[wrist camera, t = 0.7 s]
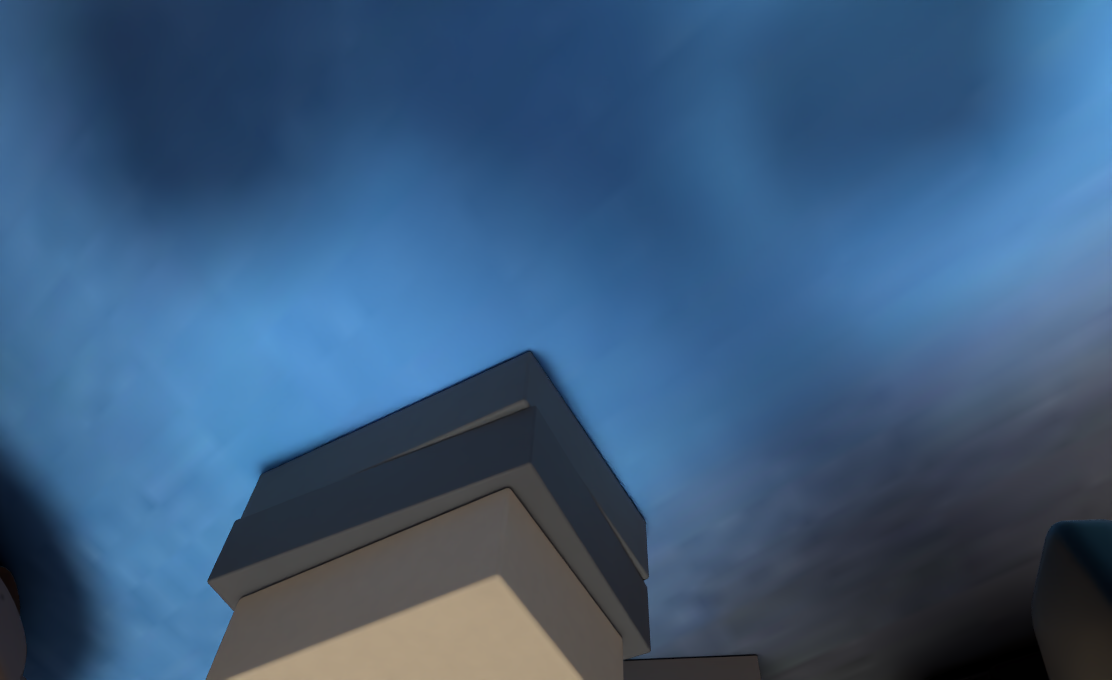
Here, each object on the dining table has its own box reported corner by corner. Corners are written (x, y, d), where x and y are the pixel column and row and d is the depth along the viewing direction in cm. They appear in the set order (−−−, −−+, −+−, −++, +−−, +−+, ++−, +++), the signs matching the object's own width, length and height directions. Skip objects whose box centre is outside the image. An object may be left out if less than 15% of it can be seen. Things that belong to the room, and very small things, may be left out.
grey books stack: (532, 340, 22) (519, 448, 19) (655, 525, 25) (664, 648, 22) (250, 470, 25) (194, 586, 21) (392, 626, 28) (363, 751, 24)
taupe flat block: (509, 484, 19) (498, 576, 17) (624, 638, 22) (626, 735, 20) (237, 597, 21) (198, 691, 19) (368, 727, 24) (345, 825, 22)
